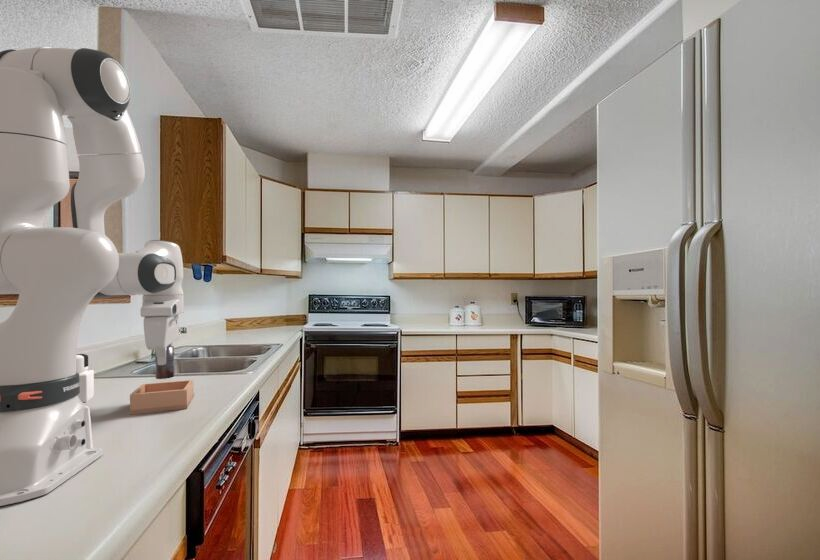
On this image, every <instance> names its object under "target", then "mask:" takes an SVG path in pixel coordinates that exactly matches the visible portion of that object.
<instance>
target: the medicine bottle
mask: <svg viewBox="0 0 820 560" xmlns="http://www.w3.org/2000/svg"><path fill="white" fill-rule="evenodd" d="M76 372H77V373H79V379H80V393H79V394H78V397H79V399H80V401H81V402H82V403H83V404H85V403H87V402H88V401H90V400H91V399H92V398H93V397H95V370H94V369H89V355H88V354H86V353H76Z"/></svg>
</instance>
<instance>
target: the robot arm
mask: <svg viewBox="0 0 820 560" xmlns="http://www.w3.org/2000/svg"><path fill="white" fill-rule="evenodd" d="M130 99H131V83H130V81H129V77H128V75H127V73H126V71H125V69H124V68H123V67H122V65H121V64H120V63H119V62H118V61H117V59H115V58H114V57H113V55H111V54H109V53H107V52H105V51H101V50H98V49H93V48H85V47H84V48H81V47H80V48H79V49H76V48H65V47H62V48H61V47H51V46H40V47H39V46H38V47H29V48H21V49H5V50H2V51H0V295H18V299H17V302H16V305H15V308H14V309H13V311H12V312H11V314H10V315H9V316H8V317H7V318H6V319H5V320H4V321H2V322H0V507H2V506H8V505H11V504H15V503H20V502H24V501H28V500H31V499H35V498H38V497H41V496H44V495H47V494H48V493H50V492H51V491H53V490H56V488H58V487H59V486H60V485H62V484H63V483H65V482H66V481H68V480H69V479H71V478H72V477H73V476H74V475H76V474H77V473H79V472H80V471H82V470H83V469H85V468H86V467H87V466H89V465H91V464H92V463H93V462H95V461H96V460H97V459H100V458H101V457H102V456H103V455H104V451H103V448H102V447H97V446H94V445H93V433H92V421H91V420H92V419H91V410H90V407H88V405H87V404H85V403H82V402H81V401H80V399H79V397H78V394H79V393H80V379H79V373H77V372H76V354H78V353H77V350H78V349H77V347H78V333H79V328H80V325H81V321H82V318H83V315H84V314H85V312H86V309H87V307H88V306H89V304H90V303H91V301H92V300H93V299H94V298H104V297H105V298H107V297H114V296H136V295H138V296H141V295H142V303H141V304H142V305H141V307H140V317H141V318H143V333H144V342H145V346H146V349H147V350H148V351H149V350H153V351H154V353H155V352H156V356H157V364H158V365H165V364H166V363H167V357H166V350H167V346H168V345H169V346H173V343H174V342H175V341H177V340H178V339H179V338H180V337H179V336H180V327H179V326H180V325H179V314H183V313H184V312H185V298H184V297H185V296H184V295H185V292H184V290H183V281H184V262H183V255H182V250H181V248H180V245H178V244H177V243H175V242H172V241H169V240H163V239H153V240H152V239H151V240H148V241H146V242H145V244H144V247H143V248H141V249H139V250H137V251H135V252H118V250H117V247H116V246H115V244H114V243H113V241H112V240H111V238H109V237H108V236H107V235H106V231H105V219H104V218H105V213H106V211H107V209H109V207H110V206H111V205H113V204H115V203H117V202H119V201H121V200H123V199H125V198H128V197H129V196H131V195H133V194H134V193H135V192H136V191H138V190H139V189H140V188H141V186H142V185H143V184H144V181H145V176H146V168H145V162H144V157H143V154H142V148H141V144H140V142H139V139H138V135H137V132H136V129H135V126H134V123H133V121H132V119H131V116H130V114H129V112H128V110H127V109H128V106H129V103H130ZM63 116H66V117H67V119H68V120H69V122H70V123H71V125H72V126H71V127H72V133H73V135H72V136H73V141H74V145H75V149H76V154H77V158H78V165H79V167H78V169H79V170H78V172H79V173H78V177H77V178H78V179H77V181H76V182H74V183H73V184H72V187H71V183H70V171H69V158H68V157H69V156H68V146H67V137H66V130H65V124H64V119H63ZM69 192H70V211H71V223H72V227H70V226H64V227H63V226H59V227H58V226H57V227H56V226H55V227H54V226H53V227H52V226H51V227H49V226H48V227H44V223H45V219H46V217H47V215H48V213H49V211H50V210H51V209H52V207H53V206H54V205H56V204H58V203H59V202H61V201H63V200H64V199H65V198H66V197H67V195H69Z"/></svg>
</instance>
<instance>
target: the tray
mask: <svg viewBox="0 0 820 560" xmlns="http://www.w3.org/2000/svg"><path fill="white" fill-rule="evenodd" d="M194 383H195V382H194V379H188V380H187V379H186V380H176V381H174V380H173V381H163V382H161V381H160V382H151V383H150V382H149V383H142V384H141V385H139V386H138V387H137V388H136V389H135V390H134V391H133V392H132V393H130V395H129V415H137V414H138V415H139V414H149V413H157V412H167V411H168V412H169V411H179V410H187V409H188V407H189V406H190V404H191V402H192V400H193V399H194V397H195V396H194V395H195V394H194V393H195V392H194V389H195V388H194V385H195V384H194Z"/></svg>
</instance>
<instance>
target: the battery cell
mask: <svg viewBox="0 0 820 560" xmlns="http://www.w3.org/2000/svg"><path fill="white" fill-rule="evenodd" d="M154 356H155V357H154V361H155V362H154V363H155V364H154V365H155V366H154V367H155V368H154V369H155V370H154V371H155V379H156V380H164V379H165V380H166V379H171V378H174V377H175V346H174V345H172V346H169V345H168V346H167V350H166V357H167V363H166V364H165V365H158V364H157V356H156V352H155V351H154Z"/></svg>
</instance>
